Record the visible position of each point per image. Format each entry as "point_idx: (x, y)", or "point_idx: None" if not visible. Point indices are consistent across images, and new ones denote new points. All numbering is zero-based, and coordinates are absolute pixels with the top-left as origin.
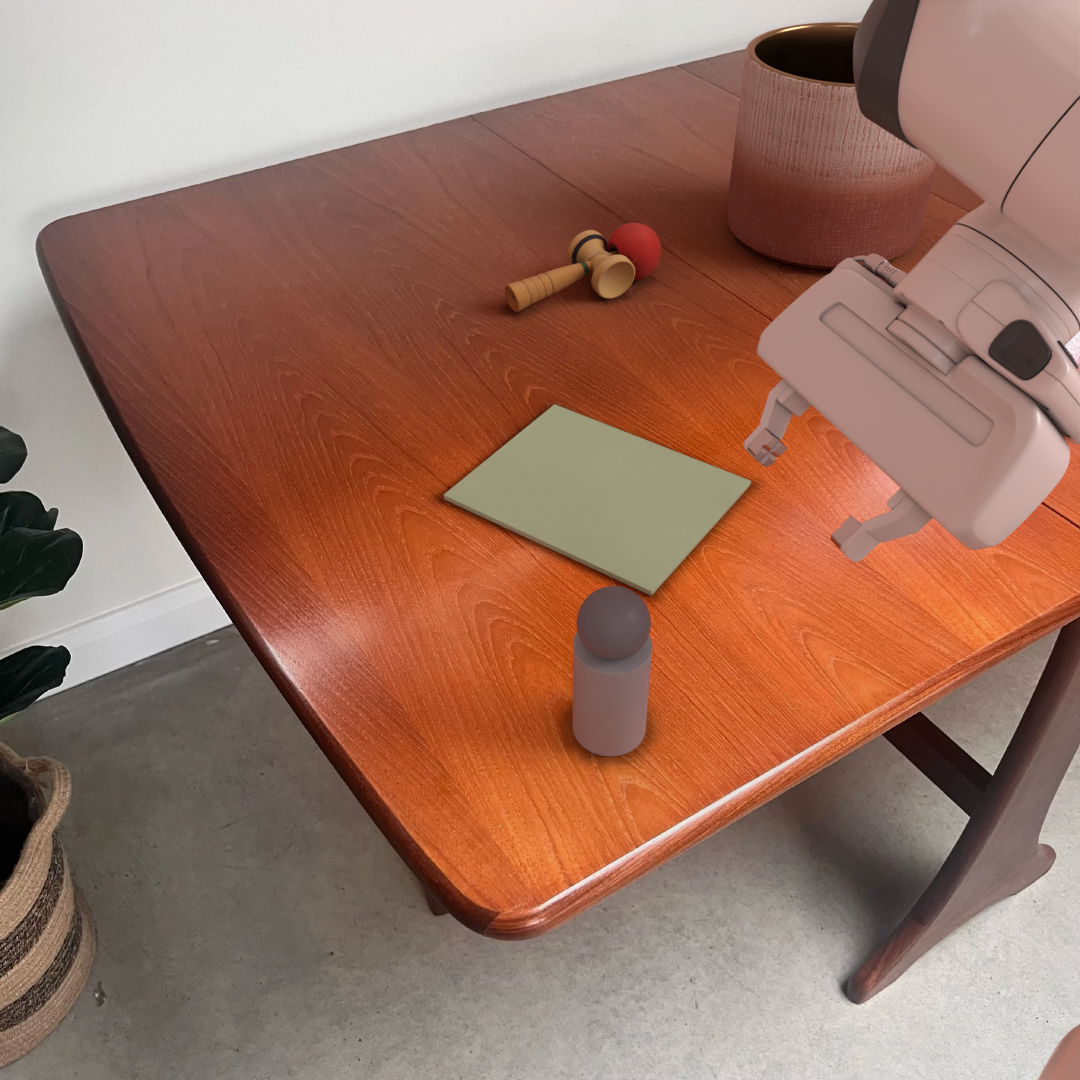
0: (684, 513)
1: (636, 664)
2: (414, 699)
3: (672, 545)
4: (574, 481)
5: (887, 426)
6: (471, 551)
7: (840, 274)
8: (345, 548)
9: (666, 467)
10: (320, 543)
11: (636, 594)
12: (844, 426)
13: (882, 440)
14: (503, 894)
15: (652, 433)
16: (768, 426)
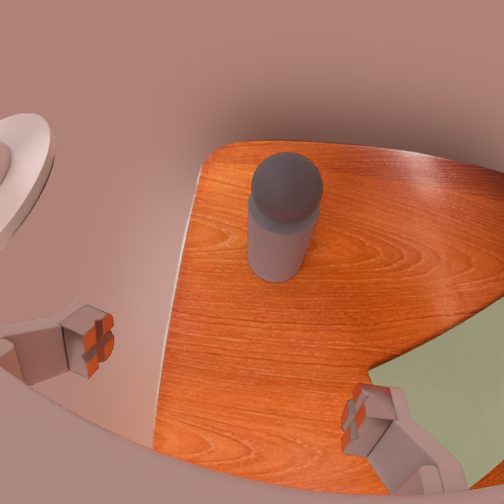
0: None
1: (251, 204)
2: (363, 182)
3: None
4: (493, 386)
5: (11, 463)
6: (465, 280)
7: None
8: (485, 220)
9: (470, 465)
10: (491, 212)
11: (289, 193)
12: (166, 465)
13: (16, 426)
14: (220, 153)
15: (499, 474)
16: (395, 427)
